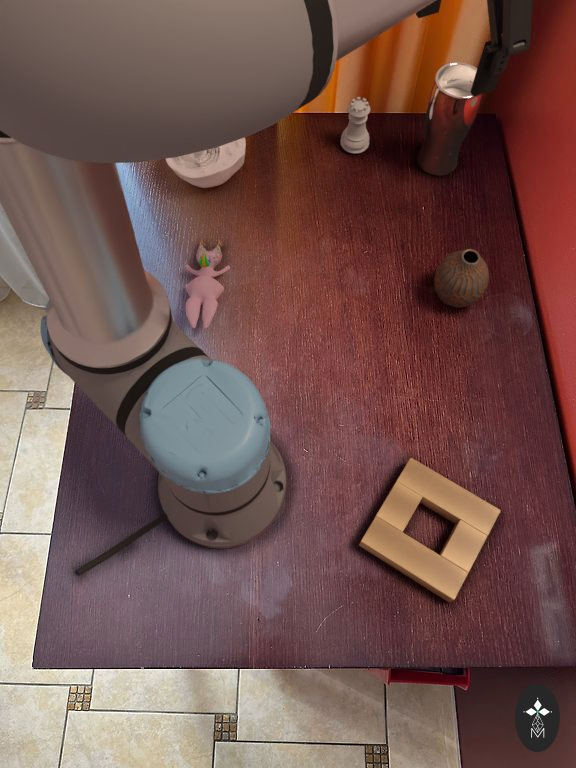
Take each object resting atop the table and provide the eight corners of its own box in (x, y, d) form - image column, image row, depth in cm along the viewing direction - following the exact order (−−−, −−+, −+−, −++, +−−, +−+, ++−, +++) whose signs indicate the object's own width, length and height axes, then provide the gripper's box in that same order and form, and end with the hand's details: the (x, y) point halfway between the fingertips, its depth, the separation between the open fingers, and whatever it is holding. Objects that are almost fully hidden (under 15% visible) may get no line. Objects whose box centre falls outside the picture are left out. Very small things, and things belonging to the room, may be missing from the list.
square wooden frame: (449, 603, 78) (454, 600, 75) (358, 545, 80) (360, 541, 78) (495, 515, 82) (501, 510, 79) (407, 463, 84) (410, 457, 82)
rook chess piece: (369, 134, 106) (376, 93, 99) (368, 156, 104) (374, 116, 97) (340, 132, 106) (345, 90, 99) (339, 154, 104) (343, 113, 97)
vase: (478, 319, 93) (496, 284, 85) (427, 310, 93) (440, 274, 85) (482, 277, 96) (500, 238, 88) (433, 268, 96) (446, 229, 88)
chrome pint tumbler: (405, 151, 105) (424, 70, 91) (445, 137, 106) (469, 54, 92) (428, 184, 102) (451, 105, 89) (468, 169, 103) (497, 89, 90)
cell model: (254, 191, 101) (252, 158, 95) (174, 205, 100) (167, 173, 94) (240, 140, 106) (238, 105, 99) (163, 153, 104) (156, 119, 98)
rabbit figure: (190, 252, 98) (176, 335, 90) (185, 221, 94) (171, 306, 85) (233, 254, 98) (224, 337, 90) (231, 223, 93) (221, 307, 85)
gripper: (623, -81, 56) (537, 116, 76) (476, -235, 66) (433, -24, 85) (544, -59, 55) (477, 136, 74) (406, -218, 64) (378, -9, 84)
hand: (453, 51), depth 80 cm, fingers open, 13 cm apart
